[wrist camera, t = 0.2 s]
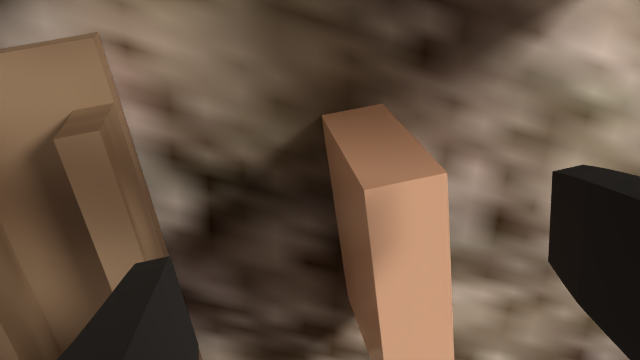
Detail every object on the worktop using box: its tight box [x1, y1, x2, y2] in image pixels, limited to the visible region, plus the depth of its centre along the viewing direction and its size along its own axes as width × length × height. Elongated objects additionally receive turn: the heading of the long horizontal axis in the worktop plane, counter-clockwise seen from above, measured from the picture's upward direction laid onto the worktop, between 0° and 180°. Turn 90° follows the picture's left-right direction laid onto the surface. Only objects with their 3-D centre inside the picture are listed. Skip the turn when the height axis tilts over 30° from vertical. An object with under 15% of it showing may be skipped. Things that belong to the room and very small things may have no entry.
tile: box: [321, 104, 454, 360], centre depth 18 cm, size 8×2×6 cm, turn 8°
